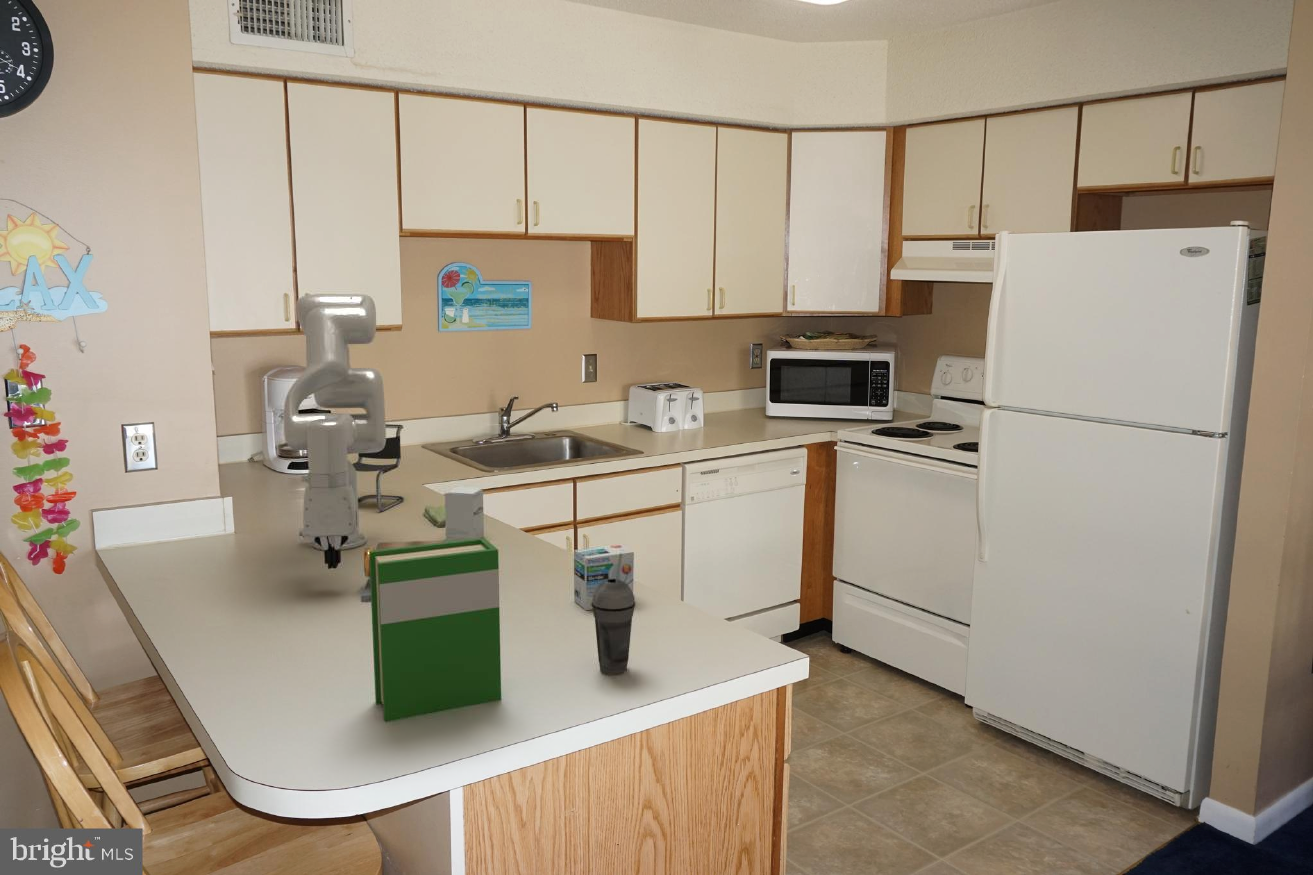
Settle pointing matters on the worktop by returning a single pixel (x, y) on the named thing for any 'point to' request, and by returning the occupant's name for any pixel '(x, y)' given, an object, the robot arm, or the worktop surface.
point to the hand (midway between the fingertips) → (333, 566)
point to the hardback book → (435, 627)
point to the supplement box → (464, 514)
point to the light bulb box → (599, 570)
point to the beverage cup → (613, 623)
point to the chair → (382, 466)
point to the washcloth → (436, 515)
